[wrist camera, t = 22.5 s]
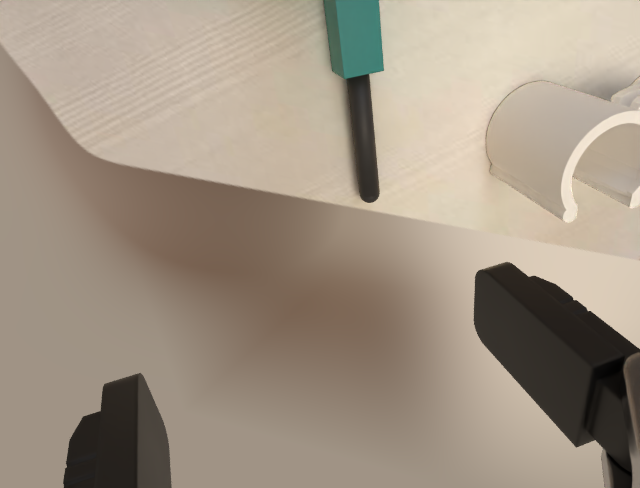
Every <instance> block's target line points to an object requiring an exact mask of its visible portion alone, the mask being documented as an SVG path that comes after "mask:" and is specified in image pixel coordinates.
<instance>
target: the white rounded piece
mask: <svg viewBox="0 0 640 488" xmlns="http://www.w3.org/2000/svg"><path fill="white" fill-rule="evenodd" d="M486 149H487V154H488V157H489V159H490V161H491V163H492V165H491V167H490V173H491V174H492V175H494V176H495V177H497V178H498V179H500V180H502V181H503V182H505V183H506V184H508V185H509V186H511V187H512V188H514V189H515V190H517V191H518V192H520V193H521V194H523V195H524V196H526V197H528V198H529V199H531V200H532V201H534V202H535V203H537V204H538V205H540V206H541V207H543V208H544V209H546V210H547V211H549V212H550V213H552V214H554V215H555V216H557V217H558V218H560V219H561V220H563V221H564V222H566V223H570V222H572V221H574V220H575V219H576V215H577V210H578V205H577V203H576V202H575V200H574V198H573V195H572V188H571V185H572V177H574V178H576V179H578V180H580V181H581V182H583V183H585V184H587V185H589V186H591V187H593V188H595V189H597V190H598V191H600V192H602V193H604V194H606V195H608V196H610V197H612V198H613V199H615V200H617V201H619V202H621V203H623V204H625V205H627V206H628V207H630V208H636V207H638V206H639V205H640V77H639V78H638V79H636V80H635V81H634V82H633V83H632V84H631V86H630V87H627V88H625V89H622V90H620V91H619V92H617V93H615V94H614V95H613V96H612V98H611V101H608V100H605V99H602V98H598V97H595V96H592V95H589V94H586V93H583V92H580V91H577V90H573V89H570V88H567V87H564V86H561V85H558V84H555V83H552V82H548V81H535V82H531V83H528V84H525V85H523V86H521V87H519V88H518V89H516V90H515V91H513V92H512V93H511V94H509V95H508V96H507V97H506V98H505V99H504V100H503V101H502V103H501V104H500V105H499V107H498V108H497V109H496V111H495V113H494V114H493V116H492V119H491V121H490V123H489V126H488V130H487V135H486Z"/></svg>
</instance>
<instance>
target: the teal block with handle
mask: <svg viewBox="0 0 640 488" xmlns="http://www.w3.org/2000/svg"><path fill="white" fill-rule="evenodd" d="M324 8H325V16H326V24H327V32H328V40H329V48H330V56H331V64H332V71H333V72H334V73H336V74H338V75H339V76H341V77H342V78H344V79H347V85H348V94H349V103H350V112H351V121H352V130H353V139H354V148H355V157H356V166H357V175H358V184H359V193H360V197H361V199H362V200H363V201H365V202H367V203H371V202H374V201H376V200H377V199H378V197H379V181H378V170H377V158H376V147H375V135H374V124H373V113H372V101H371V90H370V79H369V74H370V73H375V72H380V71H384V67H383V53H382V39H381V26H380V12H379V0H324Z"/></svg>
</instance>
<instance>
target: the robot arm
mask: <svg viewBox="0 0 640 488" xmlns="http://www.w3.org/2000/svg"><path fill="white" fill-rule="evenodd" d="M474 325H475V329H476V331H477V334H478V336H479V338H480V340H481V341H482V343H483V344H484V345H485V346H486V347H487V348H488V350H489V351H490V352H491V353H492V354H493V355H494V356H495V358H496V359H497V360H498V361H499V362H500V363H501V364H502V365H503V366H504V368H505V369H506V370H507V371H508V372H509V373H510V374H511V375H512V376H513V378H514V379H515V380H516V381H517V382H518V383H519V384H520V385H521V386H522V388H523V389H524V390H525V391H526V392H527V393H528V394H529V395H530V396H531V398H532V399H533V400H534V401H535V402H536V403H537V404H538V405H539V406H540V408H541V409H542V410H543V411H544V412H545V413H546V414H547V415H548V416H549V418H550V419H551V420H552V421H553V422H554V423H555V424H556V425H557V426H558V428H559V429H560V430H561V431H562V432H563V433H564V434H565V435H566V436H567V438H568V439H569V440H570V441H571V442H572V443H573V444H574V445H575V447H579V446H581V445H584V444H586V443H589V442H591V441H594V440H596V441H597V442H598V443H599V444H600V445H601V446H602V447H603V451H602V456H601V460H602V469H603V477H604V486H605V488H640V349H639V348H637V347H636V346H635V345H633V344H632V343H631V342H630V341H628V340H627V339H626V338H624V337H623V336H622V335H621V334H619V333H618V332H617V331H615V330H614V329H613V328H612V327H610V326H609V325H608V324H606V323H605V322H604V321H602V320H601V319H600V318H599V317H597V316H596V315H595V314H593V313H592V312H591V311H587V309H586V307H584V306H583V305H582V304H581V303H579V302H578V301H577V300H575V301H574V300H573V297H572V296H570V295H569V294H568V293H566V292H565V291H564V290H562V289H561V288H560V287H558V286H557V285H556V284H554V283H551V282H549V281H546V280H544V279H541V278H539V277H536V276H531V277H528V276H527V275H526V274H524V273H523V272H522V271H520V270H519V269H518V268H517V267H516V266H515V265H513V264H512V263H509V262H505V263H502V264H498V265H496V266H492V267H489V268H486V269H482V270H479V271H478V272H477V274H476V276H475V298H474ZM66 464H67V468H66V469H65V475H64V482H63V484H64V488H171V472H170V457H169V443H168V438H167V433H166V429H165V426H164V422H163V420H162V418H161V415H160V413H159V411H158V408H157V406H156V404H155V401H154V399H153V397H152V395H151V392H150V390H149V388H148V386H147V383H146V381H145V379H144V377H143V375H142V374H141V373H139V374H135V375H132V376H129V377H126V378H122V379H119V380H116V381H113V382H109V383H106V384H104V386H103V392H102V403H101V411H100V412H96V413H93V414H90V415H87V416H84V417H83V418H82V420H81V421H80V423H79V425H78V427H77V428H76V430H75V432H74V433H73V435H72V437H71V439H70V441H69V448H68V455H67V461H66Z"/></svg>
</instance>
